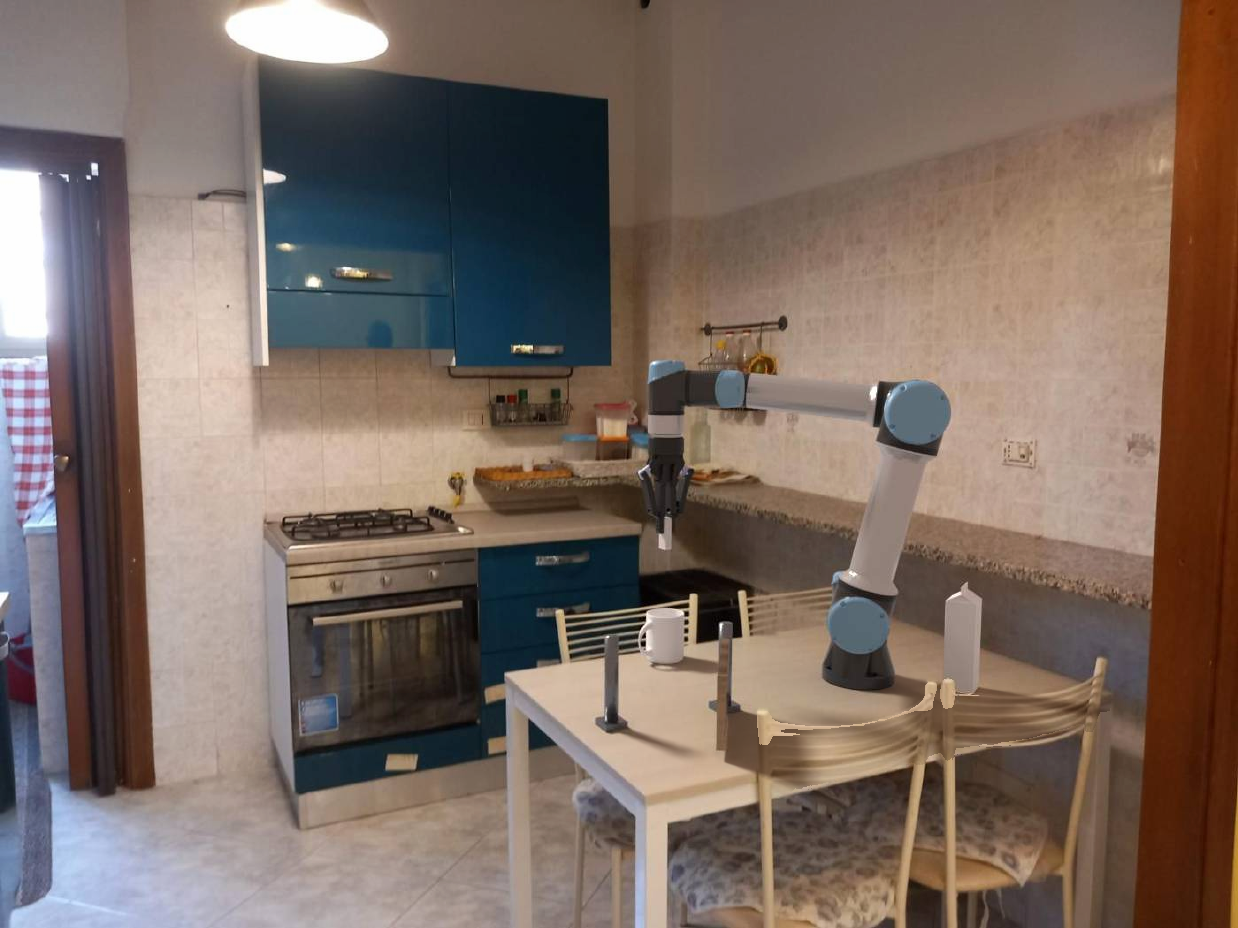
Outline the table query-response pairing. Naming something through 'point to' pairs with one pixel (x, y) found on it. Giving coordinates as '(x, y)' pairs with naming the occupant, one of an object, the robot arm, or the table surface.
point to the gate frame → (611, 681)
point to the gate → (722, 694)
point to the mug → (663, 635)
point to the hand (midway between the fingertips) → (665, 548)
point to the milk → (962, 640)
